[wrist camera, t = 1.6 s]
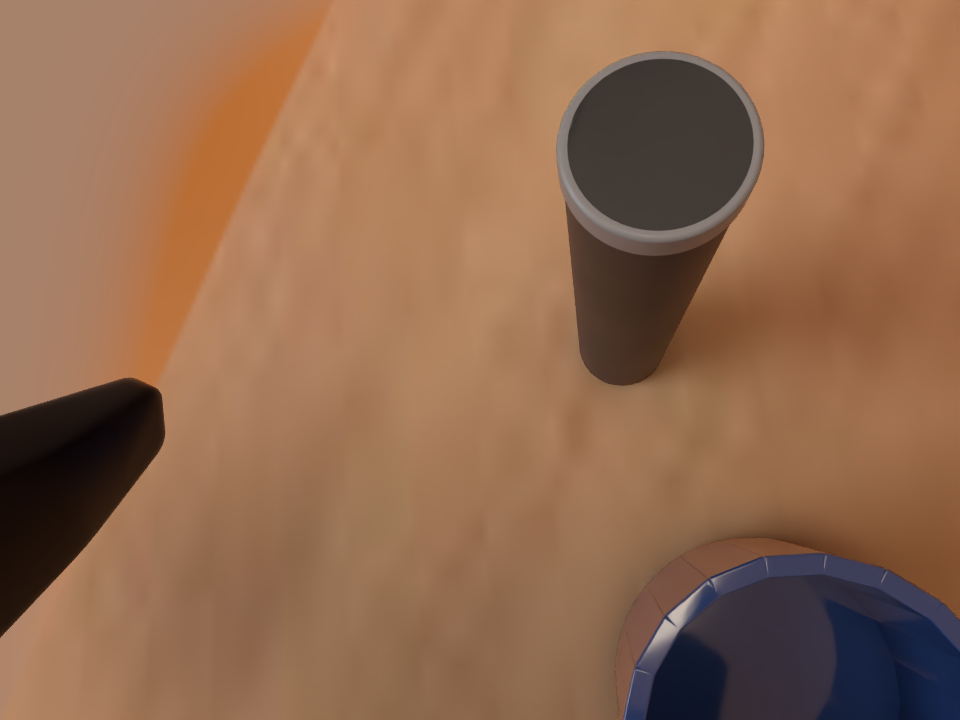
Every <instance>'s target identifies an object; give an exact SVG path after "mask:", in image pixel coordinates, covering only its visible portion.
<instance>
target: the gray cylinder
mask: <svg viewBox="0 0 960 720" xmlns="http://www.w3.org/2000/svg"><path fill="white" fill-rule="evenodd" d="M556 152H557V166H558V175H559V181H560V186H561V190H562V193H563V196H564V199H565V203H566V213H567V224H568V234H569V244H570V254H571V264H572V275H573V285H574V295H575V305H576V315H577V326H578V336H579V346H580V353H581V356H582V359H583V362H584V364H585V365H586V367H587V368H588V370H589V371H590V372H591V373H592V374H593V375H594V376H596V377H597V378H599V379H600V380H602V381H604V382H606V383H609V384H614V385H630V384H634V383H637V382H640V381H642V380H643V379H645V378H647V377H648V376H649V375H650V374H652V372H653V371H654V370H655V369H656V368H657V366H658V365H659V363H660V361H661V359H662V357H663V355H664V353H665V351H666V349H667V347H668V345H669V343H670V341H671V339H672V337H673V335H674V333H675V331H676V329H677V327H678V325H679V323H680V321H681V319H682V317H683V315H684V313H685V311H686V309H687V308H688V306H689V304H690V302H691V300H692V298H693V296H694V294H695V292H696V290H697V288H698V286H699V284H700V282H701V280H702V278H703V276H704V274H705V272H706V270H707V268H708V266H709V264H710V262H711V260H712V258H713V256H714V254H715V252H716V250H717V249H718V247H719V245H720V243H721V241H722V239H723V237H724V235H725V233H726V231H727V229H728V227H729V225H730V224H731V223H732V222H733V220H734V219H735V218H736V217H737V216H738V214H739V213H740V211H741V210H742V208H743V207H744V205H745V203H746V201H747V199H748V197H749V196H750V194H751V192H752V190H753V188H754V186H755V184H756V182H757V179H758V177H759V174H760V171H761V167H762V162H763V157H764V135H763V128H762V124H761V120H760V117H759V114H758V112H757V109H756V107H755V105H754V103H753V102H752V100H751V98H750V96H749V95H748V93H747V92H746V91H745V90H744V88H743V87H742V86H741V84H740V83H739V82H738V81H737V80H735V79H734V78H733V77H732V76H731V75H730V74H729V73H727V72H726V71H725V70H723V69H722V68H721V67H719V66H717V65H715V64H713V63H712V62H710V61H707V60H705V59H702V58H700V57H697V56H693V55H690V54H686V53H680V52H672V51H656V52H646V53H641V54H637V55H633V56H630V57H627V58H624V59H621V60H619V61H617V62H615V63H613V64H611V65H609V66H607V67H606V68H604V69H603V70H601V71H600V72H598V73H597V74H596V75H594V76H593V77H592V78H591V79H590V80H588V81H587V82H586V83H585V84H584V85H583V86H582V88H581V89H580V90H579V91H578V92H577V93H576V95H575V96H574V98H573V99H572V100H571V102H570V104H569V106H568V107H567V109H566V111H565V113H564V116H563V118H562V121H561V124H560V128H559V132H558V136H557V147H556Z"/></svg>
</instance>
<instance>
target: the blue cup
mask: <svg viewBox="0 0 960 720" xmlns="http://www.w3.org/2000/svg"><path fill="white" fill-rule="evenodd" d="M615 678H616V689H617V699H618V710H619V720H960V620H959V618H958V617H957V616H956V615H955V614H954V613H953V612H952V611H951V610H950V609H949V608H948V607H947V606H946V605H945V604H944V603H942V602H941V601H940V600H939V599H937V598H936V597H934V596H932V595H931V594H929V593H927V592H926V591H924V590H922V589H921V588H919V587H917V586H915V585H914V584H912V583H910V582H909V581H907V580H905V579H904V578H902V577H900V576H899V575H897V574H895V573H893V572H892V571H890V570H888V569H885V568H883V567H880V566H877V565H873V564H869V563H865V562H861V561H857V560H854V559H850V558H846V557H842V556H838V555H834V554H831V553H827V552H823V551H819V550H815V549H811V548H807V547H803V546H799V545H795V544H791V543H787V542H783V541H779V540H775V539H771V538H756V537H752V538H732V539H726V540H719V541H716V542H712V543H709V544H705V545H702V546H699V547H697V548H695V549H693V550H691V551H688V552H686V553H684V554H683V555H681V556H679V557H678V558H676V559H675V560H673V561H671V562H670V563H669V564H667V565H666V566H665V567H664V568H663V569H661V570H660V571H659V572H658V573H657V574H656V575H655V576H654V577H653V578H652V579H651V580H650V581H649V582H648V583H647V585H646V586H645V587H644V588H643V590H642V591H641V593H640V594H639V596H638V597H637V598H636V600H635V601H634V603H633V605H632V607H631V609H630V611H629V613H628V615H627V617H626V620H625V623H624V626H623V629H622V632H621V635H620V639H619V644H618V649H617V657H616V665H615Z"/></svg>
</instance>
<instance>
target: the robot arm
mask: <svg viewBox="0 0 960 720" xmlns="http://www.w3.org/2000/svg"><path fill="white" fill-rule="evenodd" d="M164 438H165V425H164V414H163V403H162V396H161V393H160V392H159V390H158V389H157V388H155V387H153V386H151V385H149V384H146V383H144V382H142V381H140V380H138V379H135V378H123V379H119V380H116V381H113V382H109V383H106V384H103V385H100V386H96V387H93V388H90V389H87V390H83V391H80V392H76V393H73V394H70V395H67V396H63V397H60V398H57V399H54V400H50V401H47V402H44V403H40V404H37V405H34V406H30V407H27V408H24V409H20V410H17V411H14V412H11V413H8V414H4V415H1V416H0V638H1V636H2V635H3V634H4V633H5V632H6V631H7V630H8V629H9V628H10V627H11V626H12V625H13V624H14V623H15V621H17V619H18V618H19V617H20V616H21V615H22V614H23V613H24V612H25V611H26V610H27V609H28V608H29V607H30V606H31V605H32V604H33V603H34V601H35V600H36V599H37V598H38V597H39V596H40V595H41V594H42V593H43V592H44V591H45V590H46V589H47V588H48V587H49V586H50V584H51V583H52V582H53V581H54V580H55V579H56V578H57V577H58V576H59V575H60V574H61V573H62V572H63V571H64V570H65V569H66V568H67V566H68V565H69V564H70V563H71V562H72V561H73V560H74V559H75V558H76V557H77V556H78V555H79V553H80V552H81V551H82V550H83V549H84V548H85V547H86V546H87V544H88V543H89V542H90V541H91V539H92V538H93V537H94V536H95V535H96V533H97V532H98V531H99V530H100V528H101V527H102V526H103V524H104V523H105V522H106V520H107V519H108V518H109V516H110V515H111V514H112V513H113V511H114V510H115V509H116V507H117V506H118V505H119V503H120V502H121V501H122V499H123V498H124V497H125V496H126V494H127V493H128V492H129V490H130V489H131V488H132V486H133V485H134V484H135V482H136V481H137V480H138V479H139V477H140V476H141V475H142V473H143V472H144V471H145V469H146V468H147V467H148V465H149V464H150V463H151V462H152V460H153V459H154V458H155V456H156V455H157V454H158V452H159V451H160V449H161V447H162V445H163V442H164Z"/></svg>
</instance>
